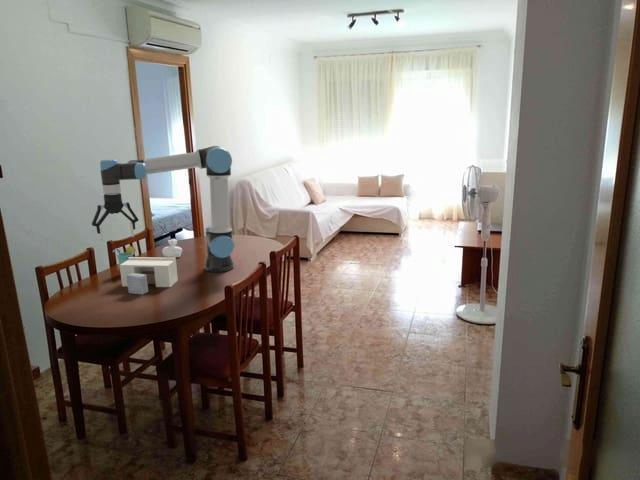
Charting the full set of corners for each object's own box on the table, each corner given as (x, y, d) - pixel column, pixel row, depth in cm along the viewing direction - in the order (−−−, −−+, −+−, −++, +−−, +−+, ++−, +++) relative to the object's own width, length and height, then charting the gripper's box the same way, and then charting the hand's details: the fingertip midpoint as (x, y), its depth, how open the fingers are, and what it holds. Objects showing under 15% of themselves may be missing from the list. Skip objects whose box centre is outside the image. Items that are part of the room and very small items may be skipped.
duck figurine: (183, 260, 291) (186, 242, 296) (178, 255, 284) (182, 237, 289) (163, 259, 293) (167, 242, 297) (158, 255, 286) (162, 237, 290)
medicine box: (148, 291, 234) (146, 274, 232) (142, 295, 230) (140, 277, 228) (134, 290, 236) (132, 272, 234) (128, 293, 232) (126, 275, 230)
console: (177, 280, 249) (175, 257, 246) (170, 287, 239) (167, 263, 237) (131, 279, 252) (129, 257, 249) (122, 286, 242) (119, 262, 239)
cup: (121, 279, 252) (118, 250, 249) (110, 277, 255) (106, 249, 252) (141, 271, 265) (138, 243, 261) (130, 269, 268) (126, 242, 264)
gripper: (139, 190, 239) (143, 233, 244) (81, 194, 227) (87, 240, 232) (142, 192, 232) (146, 236, 238) (83, 196, 221) (89, 243, 226)
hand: (117, 238), depth 235 cm, fingers open, 13 cm apart
